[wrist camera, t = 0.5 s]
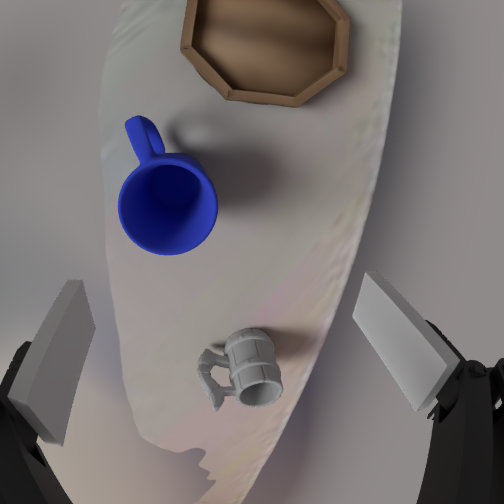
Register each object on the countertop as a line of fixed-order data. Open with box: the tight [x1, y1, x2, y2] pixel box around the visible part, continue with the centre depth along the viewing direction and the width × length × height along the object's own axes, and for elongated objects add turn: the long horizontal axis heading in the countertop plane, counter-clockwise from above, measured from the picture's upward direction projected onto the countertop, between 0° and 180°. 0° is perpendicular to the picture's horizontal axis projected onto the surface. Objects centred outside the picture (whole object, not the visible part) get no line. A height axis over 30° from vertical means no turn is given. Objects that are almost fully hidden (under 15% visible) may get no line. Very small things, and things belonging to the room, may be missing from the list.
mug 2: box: [197, 328, 283, 412], centre depth 38 cm, size 8×12×12 cm, turn 82°
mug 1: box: [118, 116, 218, 255], centre depth 26 cm, size 8×12×10 cm
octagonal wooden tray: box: [180, 0, 350, 108], centre depth 23 cm, size 17×17×4 cm
